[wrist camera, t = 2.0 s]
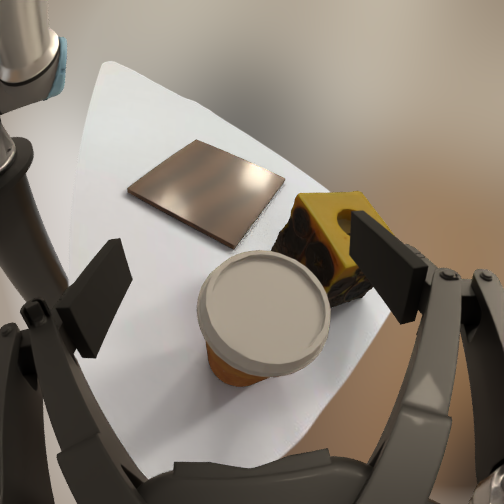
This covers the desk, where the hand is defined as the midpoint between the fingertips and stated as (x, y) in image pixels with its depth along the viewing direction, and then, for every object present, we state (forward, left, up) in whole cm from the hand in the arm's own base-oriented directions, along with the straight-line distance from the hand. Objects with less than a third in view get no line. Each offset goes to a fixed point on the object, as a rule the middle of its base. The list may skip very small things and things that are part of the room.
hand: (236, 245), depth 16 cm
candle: (+7, +16, -16) cm, 24 cm away
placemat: (-13, +22, -16) cm, 30 cm away
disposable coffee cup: (+3, +1, -16) cm, 17 cm away
